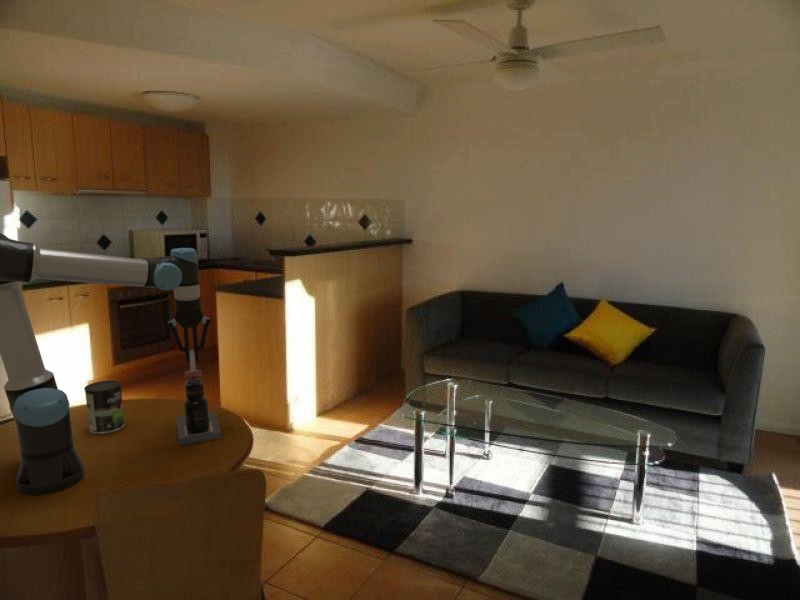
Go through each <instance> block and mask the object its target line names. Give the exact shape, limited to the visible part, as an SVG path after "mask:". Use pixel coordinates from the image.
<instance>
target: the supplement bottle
mask: <svg viewBox="0 0 800 600" xmlns="http://www.w3.org/2000/svg"><path fill="white" fill-rule="evenodd" d="M203 390H204V389H203ZM203 390H202V389H193V390H190V391H188V392H187V399H188V400H187V401H186V400H185V401H184V403H183V407H184V408H183V409H184V416H185V420H186V429H187V431H189V432H194V433H195V432H202V431H205V430H207V429H208V428H209V426H210V424H209V412H210V411H209V402H208V399H206V398H205V394H204V393H205V392H204V393H203ZM203 397H204V398H203Z"/></svg>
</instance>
